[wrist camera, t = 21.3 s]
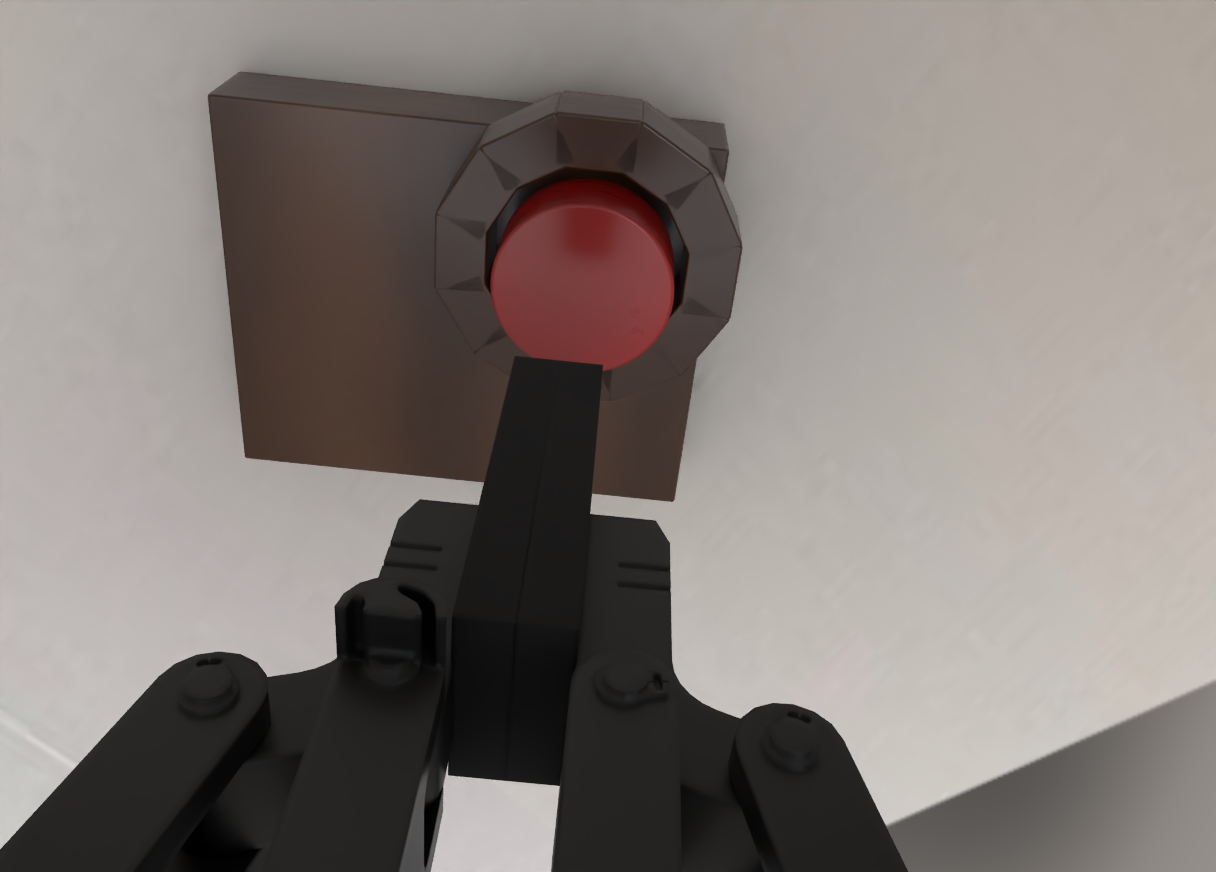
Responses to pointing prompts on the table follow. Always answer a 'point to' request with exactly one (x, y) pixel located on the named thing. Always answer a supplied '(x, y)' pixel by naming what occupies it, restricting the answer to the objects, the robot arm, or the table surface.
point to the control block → (442, 268)
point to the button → (584, 274)
